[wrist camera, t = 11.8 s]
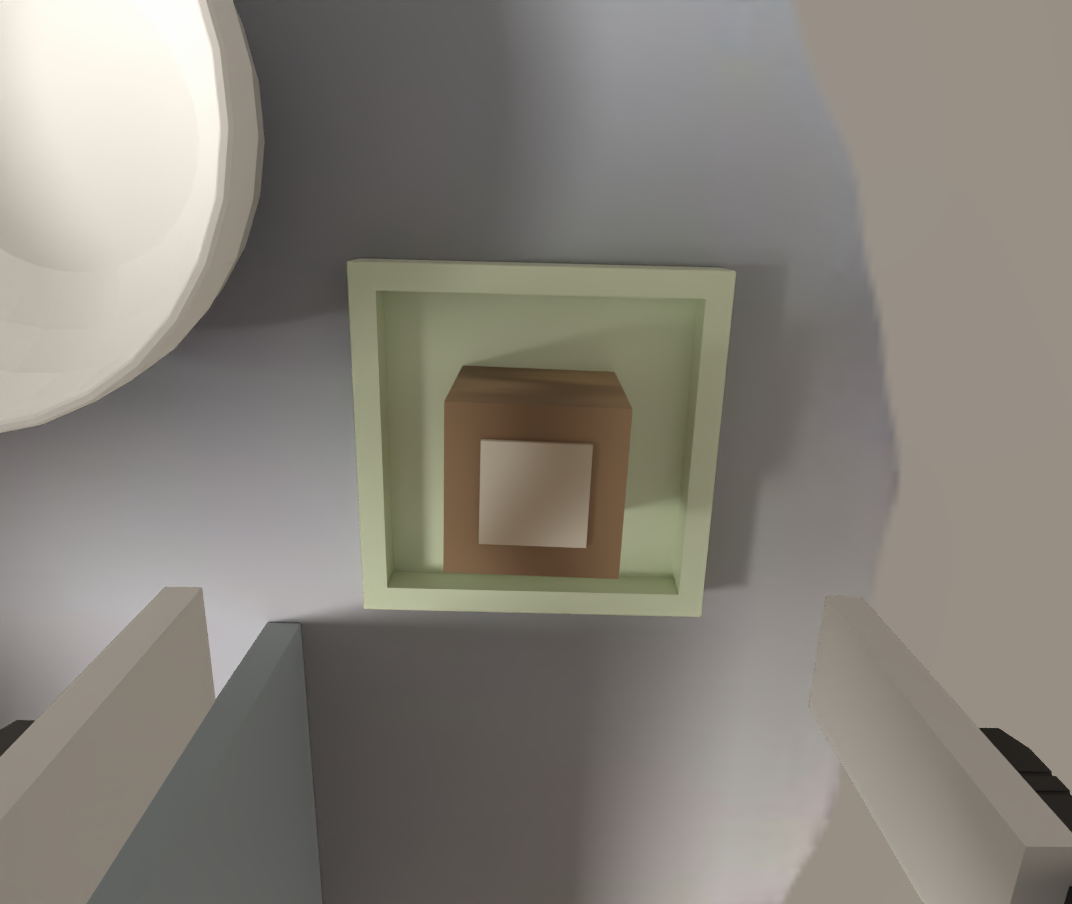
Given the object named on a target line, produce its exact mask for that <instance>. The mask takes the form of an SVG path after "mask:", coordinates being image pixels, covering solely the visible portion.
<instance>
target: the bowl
mask: <svg viewBox="0 0 1072 904" xmlns="http://www.w3.org/2000/svg"><path fill="white" fill-rule="evenodd" d="M264 146H265V137H264V127H263V117H262V107H261V96H260V86H259V80H258V77H257V73H256V70H255V66H254V62H253V59H252V55H251V52H250V48H249V44H248V41H247V37H246V34H245V30H244V26H243V23H242V21H241V19H240V16H239V14H238V12H237V10H236V8H235V6H234V3H233V0H0V433H2V432H8V431H13V430H18V429H23V428H28V427H33V426H38V425H42V424H45V423H47V422H49V421H52V420H54V419H56V418H58V417H61V416H63V415H65V414H68V413H70V412H72V411H75V410H77V409H79V408H82V407H84V406H86V405H89V404H91V403H93V402H95V401H97V400H99V399H101V398H102V397H104V396H106V395H107V394H109V393H111V392H112V391H114V390H116V389H118V388H119V387H121V386H123V385H124V384H126V383H128V382H130V381H131V380H133V379H134V378H136V377H137V376H138V375H140V374H141V373H142V372H144V371H145V370H146V369H148V368H149V367H151V366H152V365H153V364H155V363H156V362H157V361H159V360H160V359H161V358H163V357H164V356H166V355H167V354H168V353H170V352H171V351H172V350H174V349H175V348H176V347H177V345H178V344H179V343H180V342H181V341H182V340H183V339H184V337H185V336H186V335H187V334H188V333H189V332H190V330H191V329H192V328H193V327H194V326H195V325H196V323H197V322H198V321H199V320H200V319H201V318H202V317H203V315H204V314H205V313H206V312H207V311H208V310H209V308H210V307H211V305H212V303H213V301H214V300H215V299H216V297H217V296H218V295H219V293H220V292H221V291H222V290H223V288H224V286H225V284H226V282H227V280H228V278H229V277H230V275H231V273H232V271H233V269H234V267H235V265H236V264H237V262H238V260H239V258H240V256H241V254H242V252H243V250H244V249H245V247H246V244H247V240H248V237H249V233H250V230H251V226H252V223H253V219H254V216H255V213H256V209H257V206H258V202H259V199H260V193H261V181H262V169H263V158H264Z"/></svg>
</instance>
